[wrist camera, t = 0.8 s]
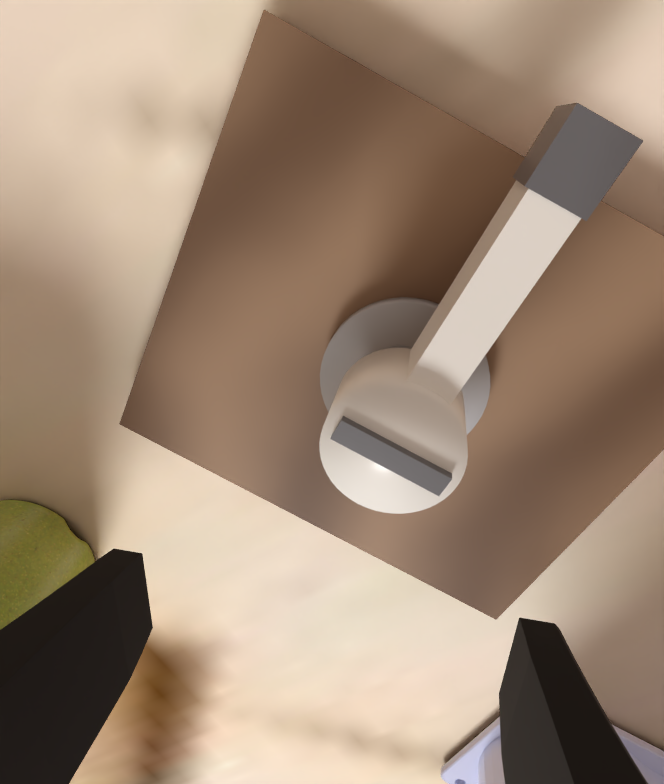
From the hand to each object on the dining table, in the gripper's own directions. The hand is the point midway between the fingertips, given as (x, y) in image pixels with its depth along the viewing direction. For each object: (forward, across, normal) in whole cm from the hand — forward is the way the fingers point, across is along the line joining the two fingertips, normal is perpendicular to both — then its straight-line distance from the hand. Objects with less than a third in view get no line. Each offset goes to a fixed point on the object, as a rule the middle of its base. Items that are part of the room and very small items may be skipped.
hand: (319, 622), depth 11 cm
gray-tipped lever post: (+7, -2, -4) cm, 8 cm away
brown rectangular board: (+10, -1, -1) cm, 10 cm away
